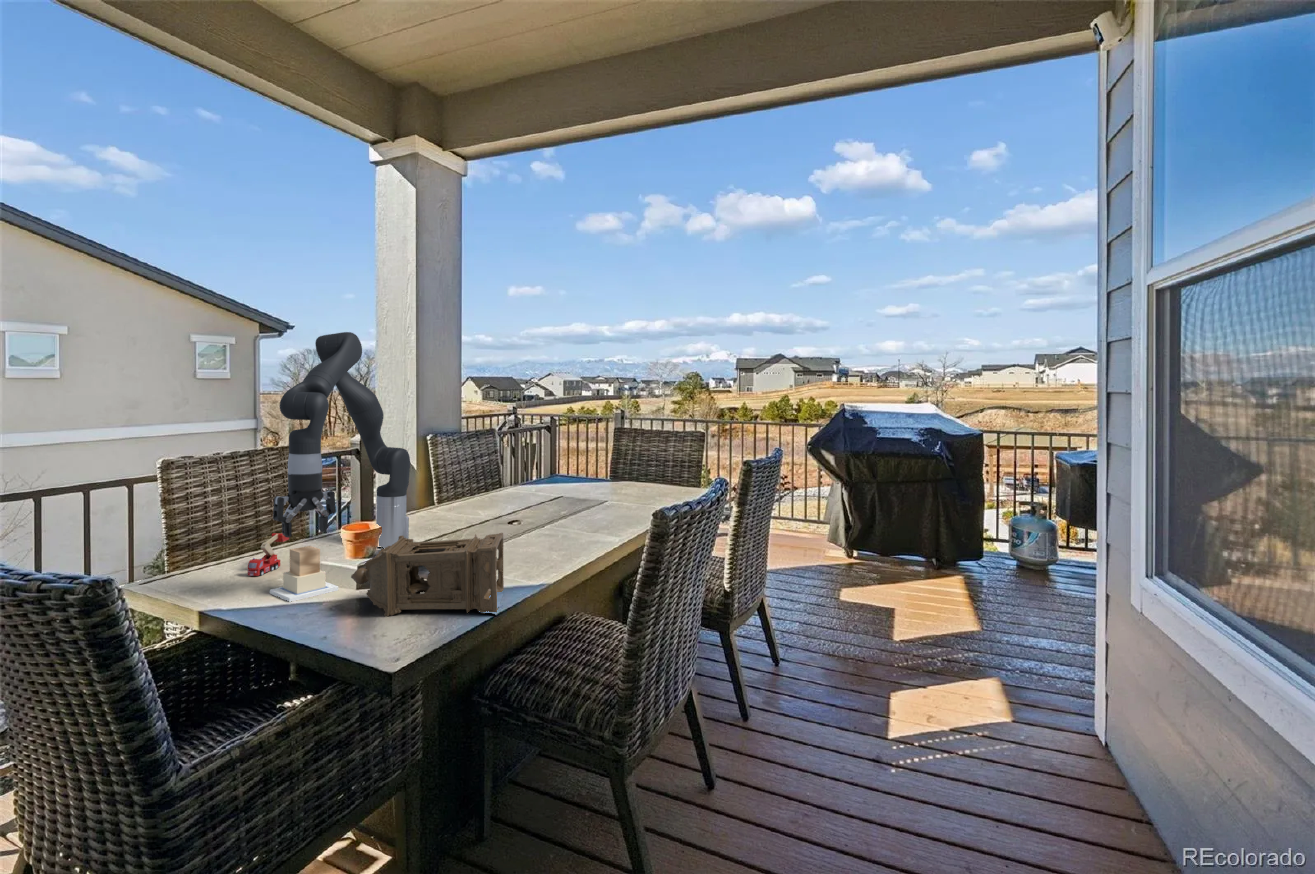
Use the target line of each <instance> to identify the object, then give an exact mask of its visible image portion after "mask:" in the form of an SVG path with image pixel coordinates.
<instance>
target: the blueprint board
mask: <svg viewBox="0 0 1315 874" xmlns="http://www.w3.org/2000/svg"><path fill="white" fill-rule="evenodd" d="M282 574H283V575H282V577H283V579H282V580H283V581H282V586H280V587H275V588H271V589H269V594H270V595H272V596H275V597H277V596H278V597H277V598H279V597H280V598H279V599H282V600H283V601H286V600H287V602H288V601H289V602H288V603H292V602H296V600H297V601H300V600H305V599H309V598H312V597H316V596H321V595H324V594H327V593H328V594H329V593H333V592H337V591H339V586H338V585H336V584H333V583H330V582H327V581H326V580H327V579H326V577H327V574H326V571H325V570H321V569H320V572H318V573H313V574H308V575H304V576H297V575H295V574H292V573H290V570H289V571H285V572H282ZM291 601H292V602H291Z"/></svg>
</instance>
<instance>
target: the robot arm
mask: <svg viewBox="0 0 1315 874" xmlns="http://www.w3.org/2000/svg"><path fill="white" fill-rule="evenodd" d="M315 350H316V353H317V356H318V358H319V361H320V363H318V364H317V365H315V366H314V367H313V368H311V369H310V370H309V372H308V373H307V374H306V376H305V377H304V379H303V380H302V381H300V382H299V383H297V384H295V385H294V386H293V387H291V388H289V389H288V390H287V391H286V392H285V393H284V394H283V395H282V397H281V398H280V401H279V411H280V413H281V414H282V416H284V418H286V419H288V420H292V421H295V420H296V421H298V420H300V421H309V424H308V425H307V427H304V428H299V429H294V430H291V431H290V432H289V434H288V459H287V490H288V493H287V495H285V496H280V495H279V496H278V495H276V496H274V498H273V511H272V512H273V513H272V519H273V521H277V522H281V534H283V535H284V536H285V537H287V538H289V539H290V538H292V533H293V532H292V531H293V530H292V528H293V527H292V522H291V521H292V520H293V518H294V517H295V516H296V515H297V514H299V512H301V513H302V512H306V511H314V510H315V511H316V513H318V514H319V516H318V530H319V532H322V533H323V532H326V531H327V529H328V528H329V516H331V515H332V514H333V515H334V514H335V513H336V512H337V509H336V493H335V491H333V490H329V489H327V490H325V491H323V490H322V488H323V459H322V434H323V431H324V425H325V422H326V419H327V416H328V413H329V409H330V408H329V407H330V402H329V399H328V398H329V397H330V395H331V393H332V392H333V390H334V388H335V387H336V388H337V390H338V393H339V395H340V397H341V399H342V400H343V403H344V405H345V408H346V410H347V412H348V414H349V416H350V418H351V420H352V423H353V424H354V426H355V427H356V429H357V431H358V435H359V436H360V438H361V440H362V443H363V446H364V449H365V451H366V454H367V458H368V460H369V464H370V465H371V467H372V469H373V470H374V472H376V473H377V474H381V475H385V476H387V475H388V476H389V479H388V481H387V483H385V484H381V485H379V486H377V488H376V501H375V502H376V509H375V510H376V519H375V520H376V521H375V523H376V524H378V525H379V526H381V527H382V534H381V536H380V538H379V546H381V547H383V548H385V547H388V546H392V544H394V543H396V542H397V541H398V539H399V536H404V538H408V539H410V538H409V535H410V534H409V532H410V531H409V527H410V517H409V516H407V497H408V496H407V490H408V487H409V485H410V483H409V482H410V472H411V471H410V468H411V459H410V458H411V457H410V454H409V451H408V450H407V449H405V448H403V447H402V448H401V447H394V446H393V447H391V446H387V445H386V444H385V442H384V440H383V438H382V435H381V434H382V433H381V432H382V431H381V430H382V427H383V423H384V422H383V421H384V410H383V408H382V406H381V404H380V401H379V399H378V397H377V395H376V394H375V393H374V391H372V390H371V389H370V388H368V387H367V386H366V385H365V384H363V383H362V382H360V381H359V380H358V379H356V378H355V377H354V376H353V375H351V374H350V373H349V370H350V369H352V368H353V367H354V366H355V365H356V364H357V363H358V362H359V361H360V360H361V358H362V355H363V345H362V343H361V340H360V338H359V336H357V335H356V334H355V333H354V332H350V331H349V332H348V331H344V332H336V333H330V334H329V333H328V334H324V335H320V336H318V337H316V340H315ZM323 498H324V499H323ZM322 500H325V506H324V505H323V504H322V503H321V501H322ZM287 503H288V504H289V505H288V507H287V508H286V509H285V512H284V507H285V505H286V504H287ZM325 508H326V509H325ZM376 524H375V525H376ZM383 548H382V549H383Z"/></svg>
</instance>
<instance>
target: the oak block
mask: <svg viewBox="0 0 1315 874" xmlns="http://www.w3.org/2000/svg"><path fill="white" fill-rule="evenodd" d="M320 570H321V549H320V548H318V547H315V546H311V545H307V546H306V545H305V546H301V547H294V548H291V549H289V571H290V573H292V574H295V575H297V576H304V575H308V574H313V573H318V572H320Z"/></svg>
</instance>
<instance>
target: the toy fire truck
mask: <svg viewBox="0 0 1315 874" xmlns="http://www.w3.org/2000/svg"><path fill="white" fill-rule="evenodd" d="M289 540H290V537H289V538H287V537H285V536H284V535H283V534H282V532H281V533H279V532H278V533H275V532H274V533H271V538H269V539H268V540H266V541H265V542H262V544H261V546H260V549H261V550H262V551H263V553H264V555H262V557H261V558H254V557H253V558H252V559H250V560H249V561H248V564H247V576H249V577H258V576H260V577H261V576H262V575H264V574H265V573H268V572H273V571H274V570H278V569H277V568H279V567H281V559H279V558H278V554H276V553H275V552H274V550H273V548H272V546H271V544H273V543H274V542H275V543H284V542H286V541H289Z"/></svg>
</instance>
